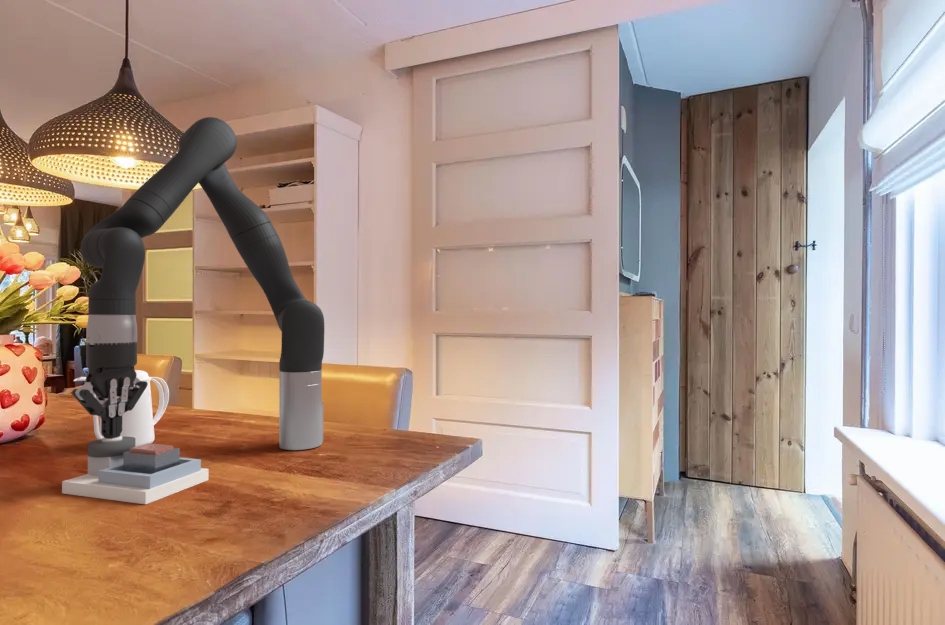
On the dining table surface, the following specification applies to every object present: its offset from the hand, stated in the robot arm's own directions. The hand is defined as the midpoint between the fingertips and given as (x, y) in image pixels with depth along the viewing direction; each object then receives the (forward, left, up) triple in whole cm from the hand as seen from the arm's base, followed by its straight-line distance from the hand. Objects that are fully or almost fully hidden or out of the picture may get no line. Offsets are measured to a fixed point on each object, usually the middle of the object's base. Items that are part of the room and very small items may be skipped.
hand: (111, 437), depth 95 cm
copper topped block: (0, +9, -6) cm, 11 cm away
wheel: (0, 0, -6) cm, 6 cm away
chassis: (0, +6, -8) cm, 10 cm away
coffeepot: (-21, -22, -8) cm, 31 cm away
